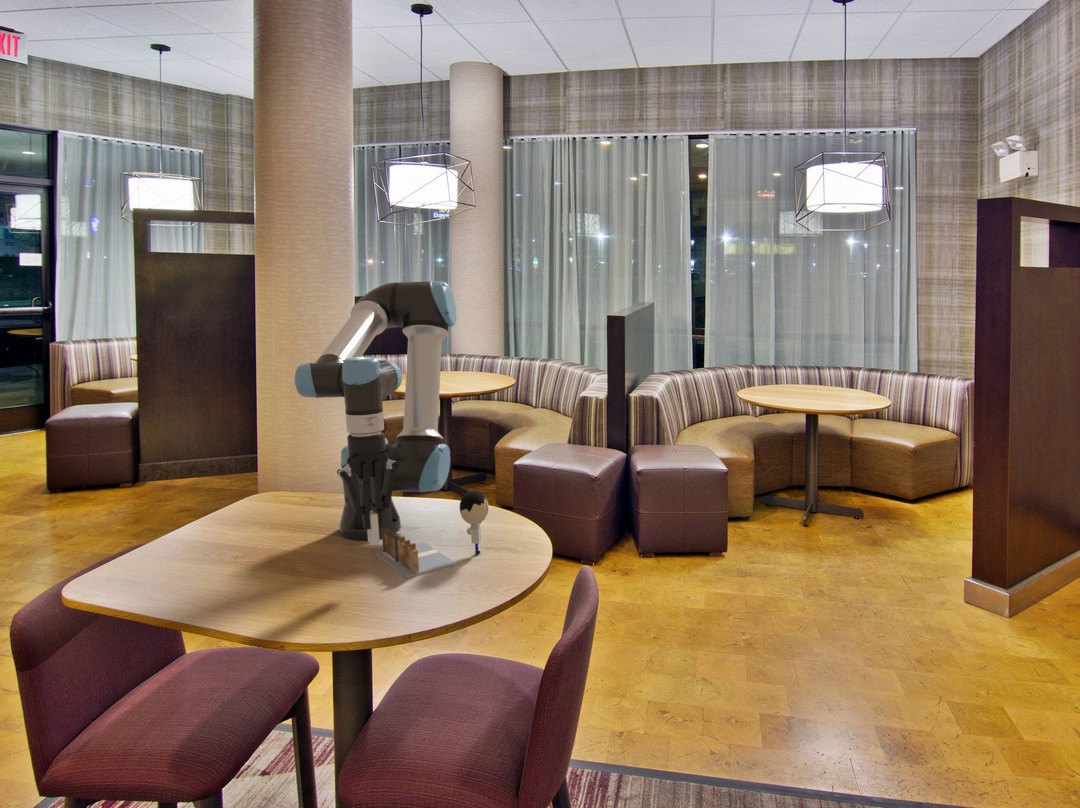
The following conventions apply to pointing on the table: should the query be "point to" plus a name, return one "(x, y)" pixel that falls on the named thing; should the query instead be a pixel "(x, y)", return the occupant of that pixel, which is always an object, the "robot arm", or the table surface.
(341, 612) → the table surface
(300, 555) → the table surface
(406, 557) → the notched wooden bar
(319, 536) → the table surface
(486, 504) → the toy
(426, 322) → the robot arm
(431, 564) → the card
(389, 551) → the fence fixed
